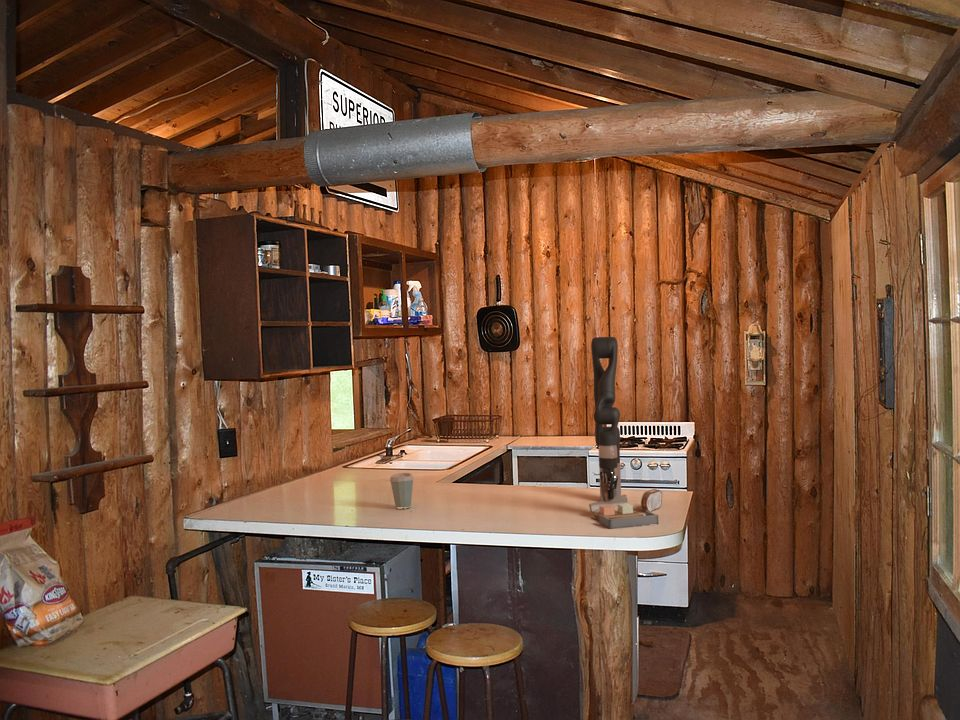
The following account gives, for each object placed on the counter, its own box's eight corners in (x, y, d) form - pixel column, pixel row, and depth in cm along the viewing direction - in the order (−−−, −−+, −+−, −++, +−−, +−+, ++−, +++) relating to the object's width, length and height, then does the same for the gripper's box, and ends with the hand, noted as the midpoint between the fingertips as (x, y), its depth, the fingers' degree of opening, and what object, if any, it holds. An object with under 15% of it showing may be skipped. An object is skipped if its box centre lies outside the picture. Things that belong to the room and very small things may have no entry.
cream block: (617, 511, 310) (617, 504, 310) (628, 510, 311) (627, 503, 311) (622, 513, 306) (622, 506, 306) (633, 512, 307) (632, 505, 307)
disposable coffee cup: (410, 510, 334) (409, 476, 334) (387, 510, 336) (386, 476, 336) (417, 505, 344) (416, 472, 344) (394, 505, 347) (393, 472, 346)
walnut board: (593, 518, 309) (593, 513, 308) (632, 514, 313) (632, 509, 313) (603, 523, 299) (603, 518, 299) (643, 519, 303) (643, 514, 303)
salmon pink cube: (599, 513, 308) (599, 505, 308) (609, 512, 309) (609, 504, 309) (604, 515, 304) (603, 508, 304) (614, 514, 305) (614, 507, 305)
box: (599, 523, 298) (599, 515, 298) (647, 519, 304) (647, 510, 304) (609, 529, 290) (609, 519, 290) (658, 524, 295) (658, 515, 295)
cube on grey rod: (589, 510, 313) (585, 487, 313) (625, 501, 317) (620, 477, 317) (592, 512, 310) (588, 488, 310) (628, 502, 314) (623, 478, 314)
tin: (657, 506, 327) (656, 487, 327) (663, 507, 325) (663, 487, 325) (640, 513, 316) (639, 492, 316) (647, 514, 314) (646, 493, 314)
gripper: (592, 454, 319) (593, 495, 320) (606, 458, 306) (607, 502, 306) (609, 453, 321) (610, 494, 321) (623, 457, 308) (625, 500, 308)
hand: (609, 498), depth 314 cm, fingers closed on cube on grey rod, 3 cm apart
